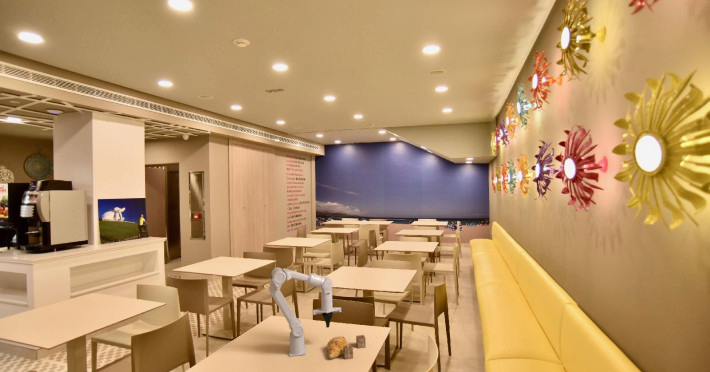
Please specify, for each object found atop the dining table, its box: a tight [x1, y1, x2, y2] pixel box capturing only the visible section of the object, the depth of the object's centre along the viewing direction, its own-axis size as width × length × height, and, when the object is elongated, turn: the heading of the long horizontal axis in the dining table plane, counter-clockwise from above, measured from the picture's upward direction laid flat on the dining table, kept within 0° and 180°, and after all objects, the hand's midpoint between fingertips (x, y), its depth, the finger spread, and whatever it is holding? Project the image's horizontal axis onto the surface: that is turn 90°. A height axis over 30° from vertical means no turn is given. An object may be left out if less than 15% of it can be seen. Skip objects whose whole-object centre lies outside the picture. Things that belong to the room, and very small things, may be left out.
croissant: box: [326, 335, 348, 360], centre depth 186 cm, size 21×10×8 cm, turn 167°
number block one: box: [343, 344, 354, 361], centre depth 178 cm, size 4×4×5 cm
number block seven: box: [355, 334, 366, 349], centre depth 190 cm, size 4×4×5 cm
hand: (327, 326), depth 191 cm, fingers closed
